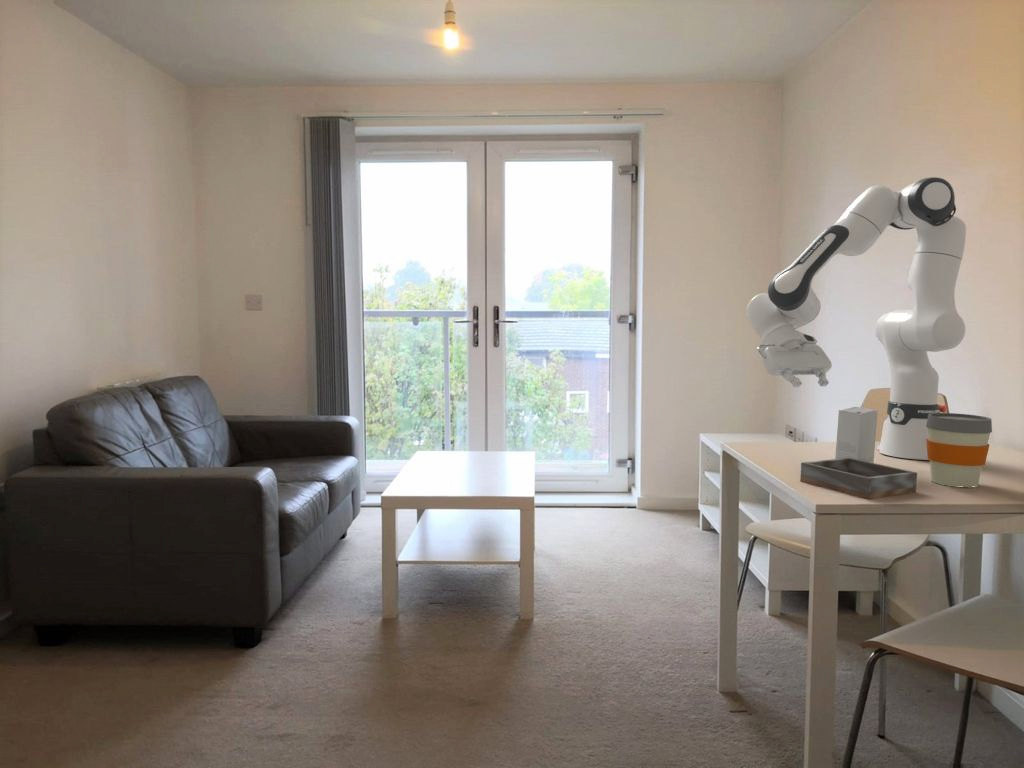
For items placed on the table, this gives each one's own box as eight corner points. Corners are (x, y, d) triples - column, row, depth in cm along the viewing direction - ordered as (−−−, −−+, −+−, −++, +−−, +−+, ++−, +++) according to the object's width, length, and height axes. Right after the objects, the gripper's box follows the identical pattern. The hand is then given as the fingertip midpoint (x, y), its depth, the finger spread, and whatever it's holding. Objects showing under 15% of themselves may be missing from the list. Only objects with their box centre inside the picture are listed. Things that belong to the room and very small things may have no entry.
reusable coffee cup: (965, 477, 169) (970, 413, 168) (1000, 490, 157) (1006, 421, 156) (911, 476, 170) (915, 412, 168) (941, 489, 157) (946, 420, 156)
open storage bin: (847, 475, 169) (848, 457, 169) (915, 492, 154) (917, 472, 154) (800, 481, 163) (801, 462, 162) (866, 499, 147) (868, 478, 147)
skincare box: (850, 466, 180) (853, 406, 179) (874, 470, 175) (879, 409, 174) (833, 470, 175) (836, 408, 173) (858, 475, 170) (862, 411, 169)
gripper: (761, 336, 187) (789, 378, 179) (819, 337, 196) (847, 376, 188) (748, 353, 191) (774, 394, 183) (804, 352, 200) (832, 392, 192)
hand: (811, 385), depth 186 cm, fingers open, 8 cm apart
